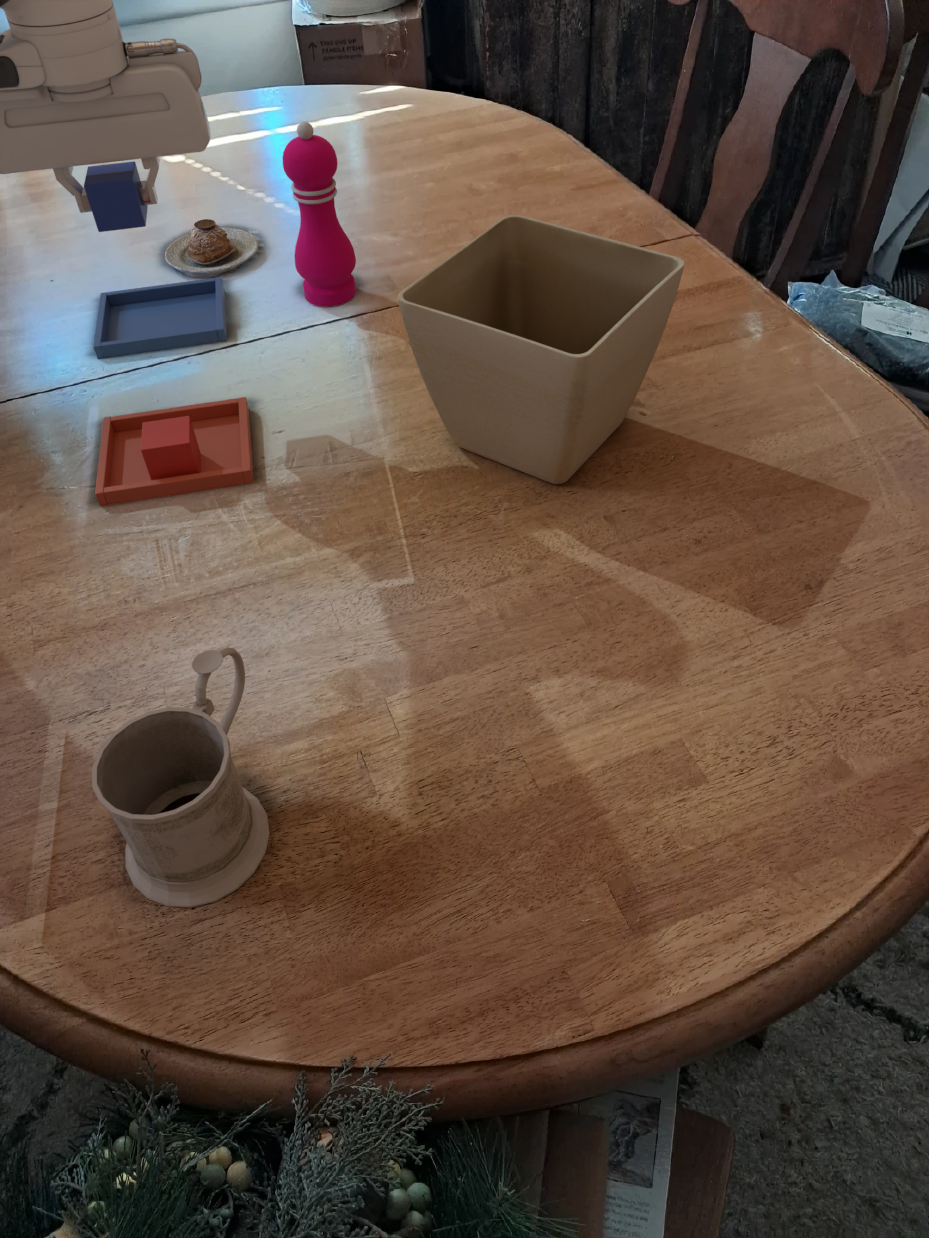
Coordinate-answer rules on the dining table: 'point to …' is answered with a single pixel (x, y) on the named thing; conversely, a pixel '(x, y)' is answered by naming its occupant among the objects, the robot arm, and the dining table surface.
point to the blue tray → (160, 318)
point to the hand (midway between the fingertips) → (119, 206)
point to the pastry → (210, 250)
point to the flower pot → (538, 340)
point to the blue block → (115, 196)
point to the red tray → (221, 466)
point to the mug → (173, 768)
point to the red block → (170, 448)
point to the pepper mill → (319, 221)
